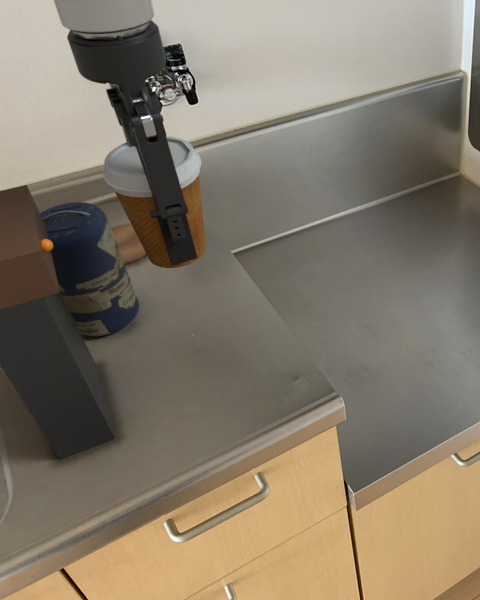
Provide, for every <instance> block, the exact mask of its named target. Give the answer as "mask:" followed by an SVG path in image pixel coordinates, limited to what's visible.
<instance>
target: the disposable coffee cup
mask: <svg viewBox="0 0 480 600" xmlns="http://www.w3.org/2000/svg"><path fill="white" fill-rule="evenodd" d="M166 138H167V141H168V145H169V148H170V152H171V155H172V158H173V162H174V165H175V169H176V172H177V176H178V179H179V183H180V186H181V190H182V193H183V197H184V200H185V203H186V204H187V206H188V213H187V214H186V216H187V220H188V224H189V228H190V231H191V235H192V239H193V243H194V246H195V250H196V254H197V259H194V260H190V261H187V262H183V263H180V264H177V265H173V266H172V264H171V262H170V259H169V256H168V252H167V249H166V246H165V243H164V239H163V236H162V233H161V229H160V226H159V223H158V220H157V217H155V218H151V216H150V213H149V212H151V211H154V210H155V208H156V206H155V203H154V200H153V197H152V193H151V190H150V187H149V184H148V181H147V178H146V175H145V173H144V170H143V167H142V164H141V161H140V158H139V155H138V152H137V149H136V147H135V146H132V147H131V145H130V144H129V142H124V143H122V144H120V145H118V146H116V147H114V148H113V149H112V150H110V151H109V152H108V153H107V155H106V156H105V159H104V162H103V163H104V164H103V165H104V168H103V171H102V177H103V178H102V179H103V180H104V182H105V183H106V185H108V186H109V187H110V189H111V190H112V191H114V194H115V196H116V198H117V199H118V201H119V203H120V205H121V207H122V209H123V211H124V213H125V215H126V217H127V219H128V220H129V223H130V225H132V227H133V228H134V231H135V232H136V234H137V236H138V238H139V240H140V242H141V244H142V246H143V248H144V250H145V252H146V254H147V255H146V256H147V258H148V260H149V262H150V263H151V264H152V265H154V266H156V267H159V268H163V269H177V268H181V267H186V266H189V265H192V264H193V263H195V262H197V261H198V260H199V259H201V258H202V257H203V255H204V254H205V252H206V250H207V244H206V235H205V226H204V213H203V202H202V193H201V192H202V191H201V182H200V173H201V167H202V158H201V156H200V154H198V152H196V151H195V149H194V147H193V145H192V144H191V142H188V141H187V140H185V139H182V138H180V137H175V136H170V135H166Z"/></svg>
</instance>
